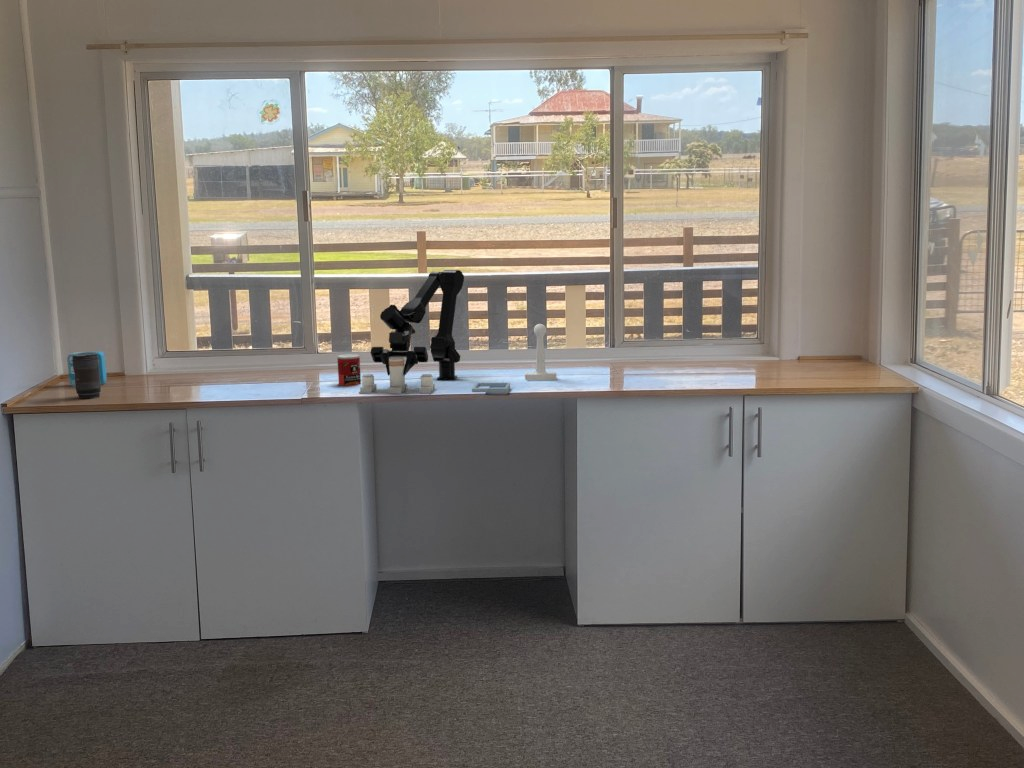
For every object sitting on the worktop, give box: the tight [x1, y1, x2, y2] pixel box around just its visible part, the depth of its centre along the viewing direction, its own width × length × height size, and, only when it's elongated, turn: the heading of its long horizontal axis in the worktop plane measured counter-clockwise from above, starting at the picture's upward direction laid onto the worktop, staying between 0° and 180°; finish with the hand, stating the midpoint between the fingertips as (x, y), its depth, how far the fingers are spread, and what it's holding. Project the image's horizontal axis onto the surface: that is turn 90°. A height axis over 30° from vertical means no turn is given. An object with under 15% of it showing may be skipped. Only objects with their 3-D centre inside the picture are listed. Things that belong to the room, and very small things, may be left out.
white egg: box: [361, 373, 375, 392], centre depth 340 cm, size 4×4×6 cm
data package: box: [66, 350, 108, 387], centre depth 370 cm, size 12×4×12 cm, turn 98°
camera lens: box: [72, 351, 102, 399], centre depth 344 cm, size 8×8×15 cm
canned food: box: [337, 353, 362, 387], centre depth 354 cm, size 8×8×11 cm
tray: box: [471, 382, 511, 396], centre depth 340 cm, size 12×12×2 cm
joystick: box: [524, 323, 557, 381], centre depth 362 cm, size 11×8×20 cm
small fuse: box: [420, 373, 434, 393], centre depth 337 cm, size 4×4×6 cm
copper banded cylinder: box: [389, 356, 406, 392], centre depth 338 cm, size 5×5×12 cm
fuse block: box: [358, 383, 438, 395], centre depth 339 cm, size 9×25×3 cm, turn 83°
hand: (396, 374), depth 336 cm, fingers closed on copper banded cylinder, 5 cm apart
